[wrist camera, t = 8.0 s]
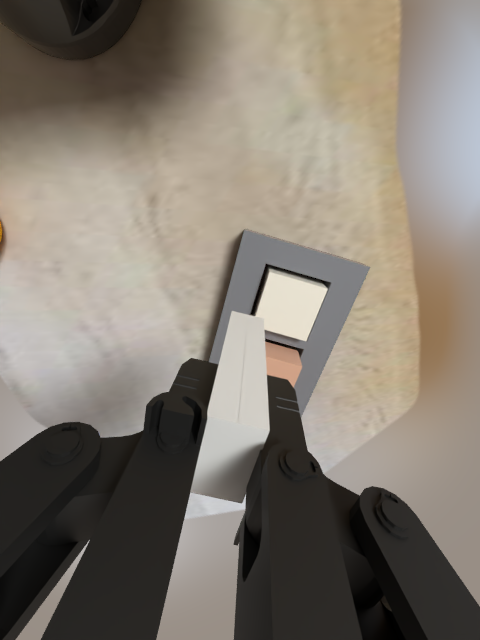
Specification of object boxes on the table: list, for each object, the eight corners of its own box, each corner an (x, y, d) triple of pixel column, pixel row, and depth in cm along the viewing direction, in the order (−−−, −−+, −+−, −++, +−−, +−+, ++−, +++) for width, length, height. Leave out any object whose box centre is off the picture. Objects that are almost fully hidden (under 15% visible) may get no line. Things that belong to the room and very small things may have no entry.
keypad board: (245, 228, 28) (244, 229, 26) (361, 263, 29) (370, 267, 27) (192, 426, 39) (187, 439, 36) (278, 449, 39) (279, 463, 37)
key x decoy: (247, 336, 30) (246, 351, 27) (297, 350, 31) (302, 366, 27) (233, 379, 33) (231, 397, 29) (280, 392, 33) (283, 411, 30)
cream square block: (268, 265, 29) (269, 271, 26) (320, 280, 30) (327, 288, 26) (252, 314, 32) (252, 326, 28) (301, 328, 32) (306, 341, 29)
